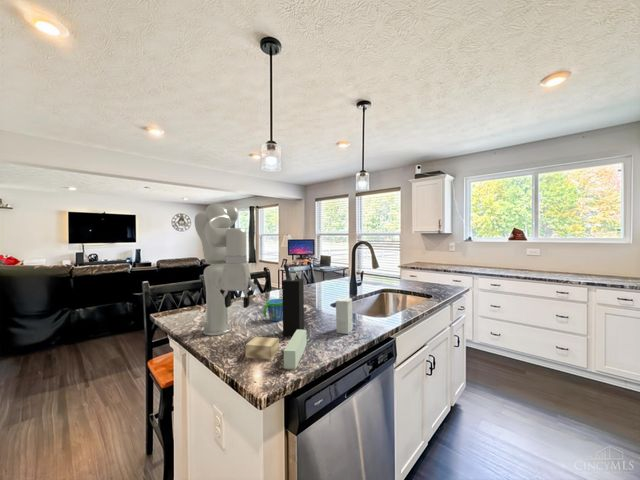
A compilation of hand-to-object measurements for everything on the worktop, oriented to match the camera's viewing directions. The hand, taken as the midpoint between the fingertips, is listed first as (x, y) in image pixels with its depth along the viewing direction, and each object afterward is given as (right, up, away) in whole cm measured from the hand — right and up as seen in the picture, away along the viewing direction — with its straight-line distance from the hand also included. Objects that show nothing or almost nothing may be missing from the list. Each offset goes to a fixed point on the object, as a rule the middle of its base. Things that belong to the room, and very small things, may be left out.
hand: (237, 306), depth 103 cm
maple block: (+10, -18, -1) cm, 21 cm away
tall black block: (+20, -18, +20) cm, 33 cm away
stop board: (+23, -17, -3) cm, 29 cm away
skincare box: (+43, -17, +23) cm, 52 cm away
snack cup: (+8, -18, +41) cm, 46 cm away
